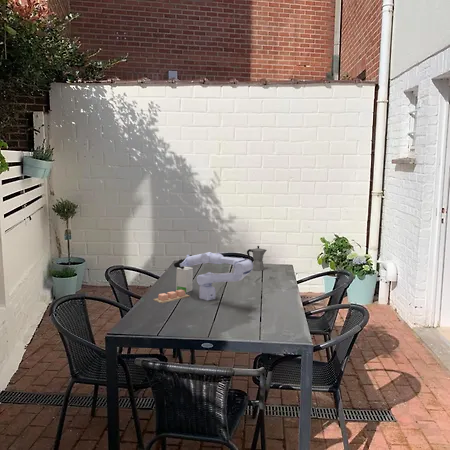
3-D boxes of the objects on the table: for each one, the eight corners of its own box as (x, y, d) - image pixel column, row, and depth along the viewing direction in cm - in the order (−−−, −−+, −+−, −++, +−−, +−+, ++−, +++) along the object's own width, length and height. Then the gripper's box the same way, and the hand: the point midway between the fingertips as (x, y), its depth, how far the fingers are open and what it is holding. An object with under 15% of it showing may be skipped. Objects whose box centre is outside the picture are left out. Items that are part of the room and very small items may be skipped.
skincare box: (175, 292, 291) (175, 267, 289) (181, 290, 297) (181, 265, 295) (187, 294, 287) (187, 269, 285) (193, 292, 293) (193, 267, 291)
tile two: (176, 298, 275) (176, 292, 274) (171, 299, 272) (171, 293, 271) (172, 297, 278) (172, 291, 277) (167, 298, 275) (166, 292, 274)
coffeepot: (264, 267, 362) (264, 244, 360) (268, 270, 353) (268, 246, 351) (244, 268, 359) (245, 245, 356) (248, 271, 350) (248, 247, 347)
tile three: (168, 300, 271) (168, 294, 270) (162, 301, 268) (162, 295, 267) (164, 299, 274) (164, 292, 273) (158, 300, 271) (158, 294, 270)
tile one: (185, 296, 279) (185, 290, 278) (179, 297, 276) (179, 291, 275) (180, 295, 282) (180, 289, 281) (175, 296, 279) (175, 290, 278)
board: (189, 298, 279) (189, 295, 278) (161, 305, 265) (161, 302, 265) (181, 296, 284) (181, 292, 284) (153, 302, 271) (153, 299, 271)
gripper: (200, 250, 284) (184, 253, 292) (185, 257, 273) (168, 260, 281) (204, 261, 285) (187, 264, 293) (189, 268, 273) (172, 272, 281)
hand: (178, 263), depth 287 cm, fingers open, 7 cm apart
